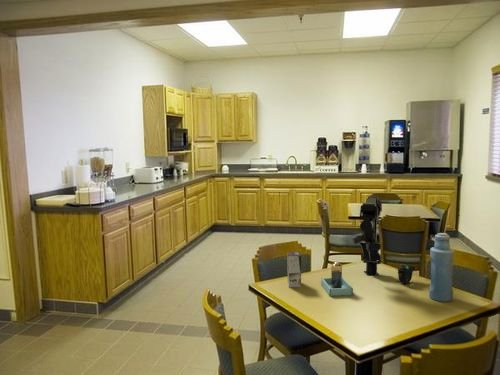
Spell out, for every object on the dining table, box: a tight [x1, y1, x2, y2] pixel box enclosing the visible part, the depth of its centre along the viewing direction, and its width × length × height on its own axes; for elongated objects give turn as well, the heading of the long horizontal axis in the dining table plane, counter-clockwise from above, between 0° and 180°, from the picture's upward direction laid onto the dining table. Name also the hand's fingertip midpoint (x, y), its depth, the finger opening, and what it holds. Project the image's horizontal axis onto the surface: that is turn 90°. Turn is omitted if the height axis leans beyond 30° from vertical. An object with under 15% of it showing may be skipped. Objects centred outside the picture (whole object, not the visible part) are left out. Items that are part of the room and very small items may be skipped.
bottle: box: [428, 232, 455, 303], centre depth 180 cm, size 10×10×30 cm
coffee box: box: [286, 250, 302, 288], centre depth 201 cm, size 9×6×16 cm
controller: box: [397, 264, 416, 285], centre depth 202 cm, size 4×12×10 cm, turn 132°
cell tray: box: [320, 276, 354, 297], centre depth 193 cm, size 16×11×4 cm
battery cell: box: [330, 261, 343, 289], centre depth 193 cm, size 5×5×13 cm
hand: (367, 258), depth 200 cm, fingers open, 9 cm apart
